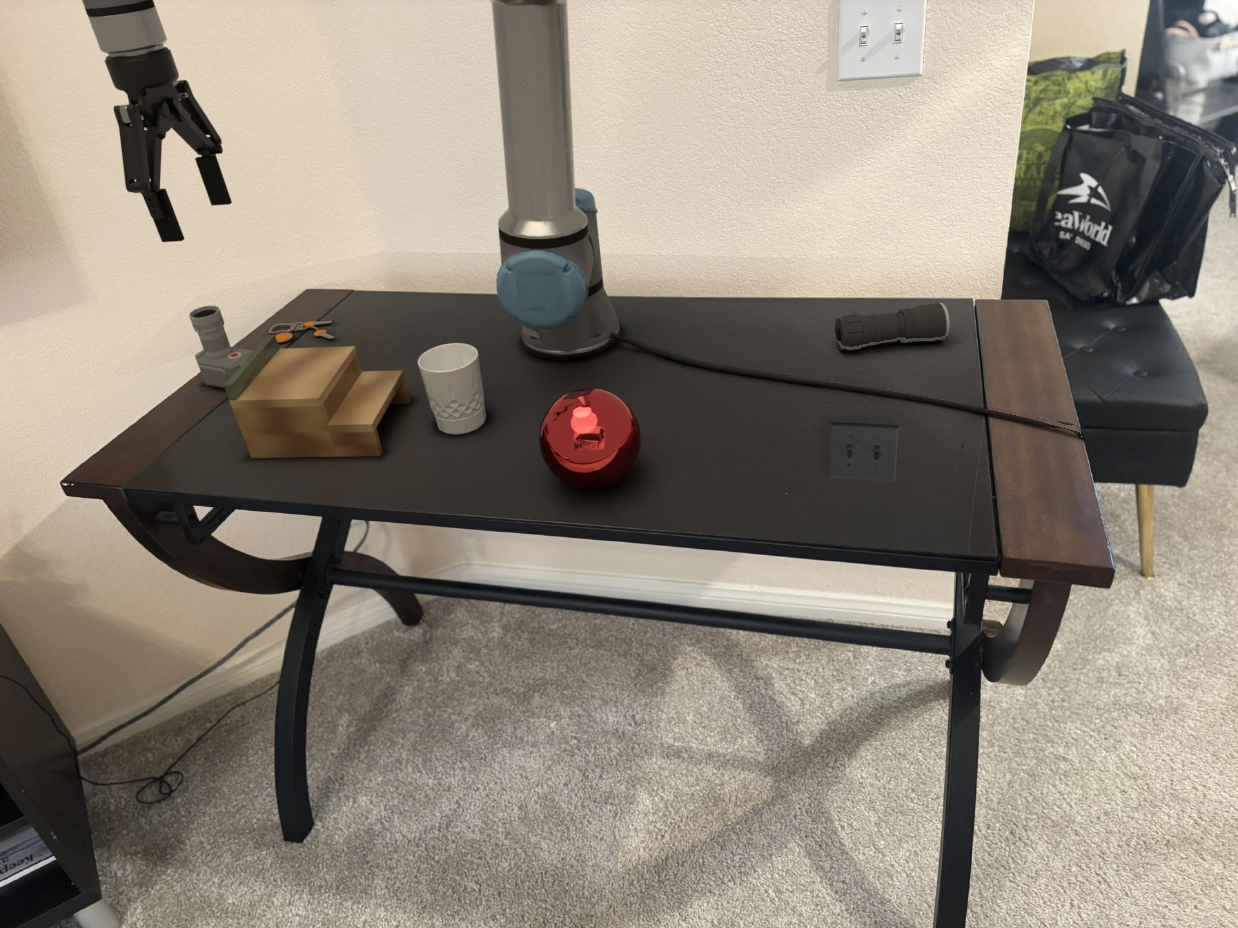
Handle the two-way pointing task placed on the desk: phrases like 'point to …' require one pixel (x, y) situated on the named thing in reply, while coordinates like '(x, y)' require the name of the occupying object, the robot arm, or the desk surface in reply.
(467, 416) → the white cup
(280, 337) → the key chain
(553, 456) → the ball
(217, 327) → the camera
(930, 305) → the flashlight
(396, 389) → the shelf stand
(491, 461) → the desk surface
